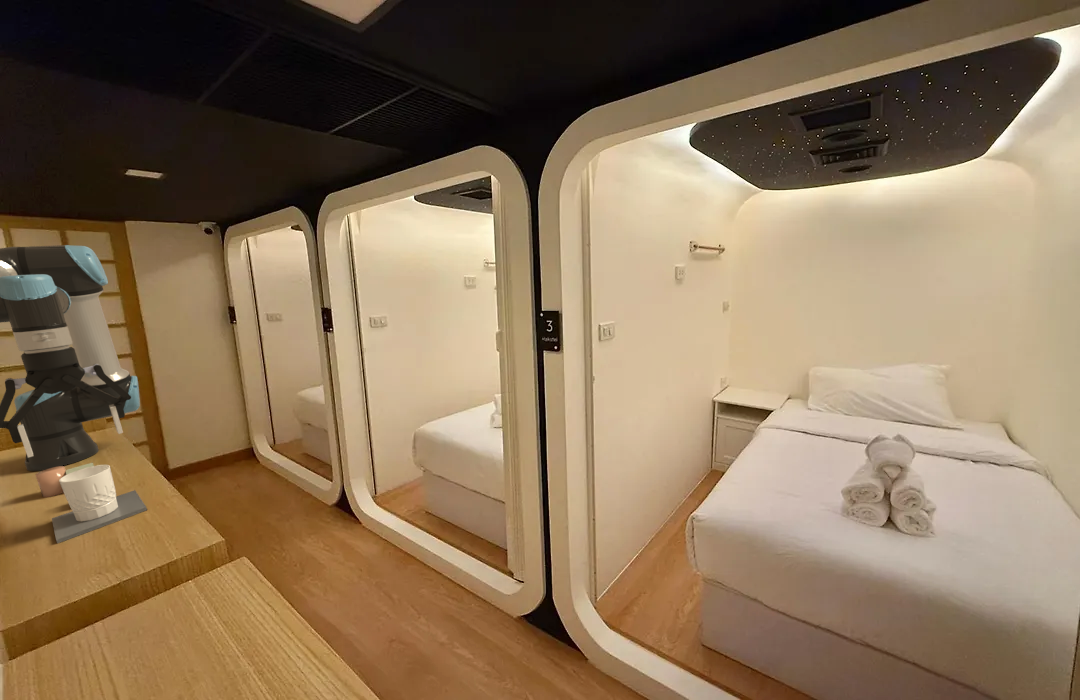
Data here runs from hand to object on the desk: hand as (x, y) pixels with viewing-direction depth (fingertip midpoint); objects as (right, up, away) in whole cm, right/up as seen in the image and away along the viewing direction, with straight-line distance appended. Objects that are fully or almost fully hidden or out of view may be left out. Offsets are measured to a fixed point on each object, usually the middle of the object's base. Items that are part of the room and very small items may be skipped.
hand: (77, 443), depth 93 cm
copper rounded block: (-24, -16, +17) cm, 34 cm away
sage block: (-19, -16, +19) cm, 31 cm away
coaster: (+1, -17, +3) cm, 18 cm away
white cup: (+1, -17, +3) cm, 17 cm away
